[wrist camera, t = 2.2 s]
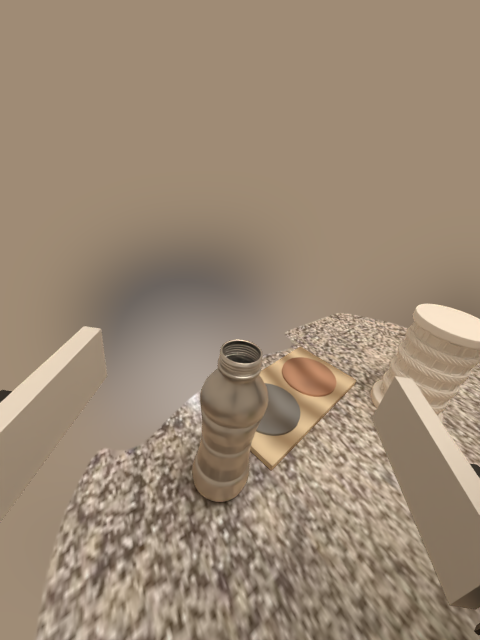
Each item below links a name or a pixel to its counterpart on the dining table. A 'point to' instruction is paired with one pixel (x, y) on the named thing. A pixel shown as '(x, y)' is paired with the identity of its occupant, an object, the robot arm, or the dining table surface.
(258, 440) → the board
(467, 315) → the decorative container
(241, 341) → the plastic bottle
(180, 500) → the dining table surface
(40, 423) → the robot arm
